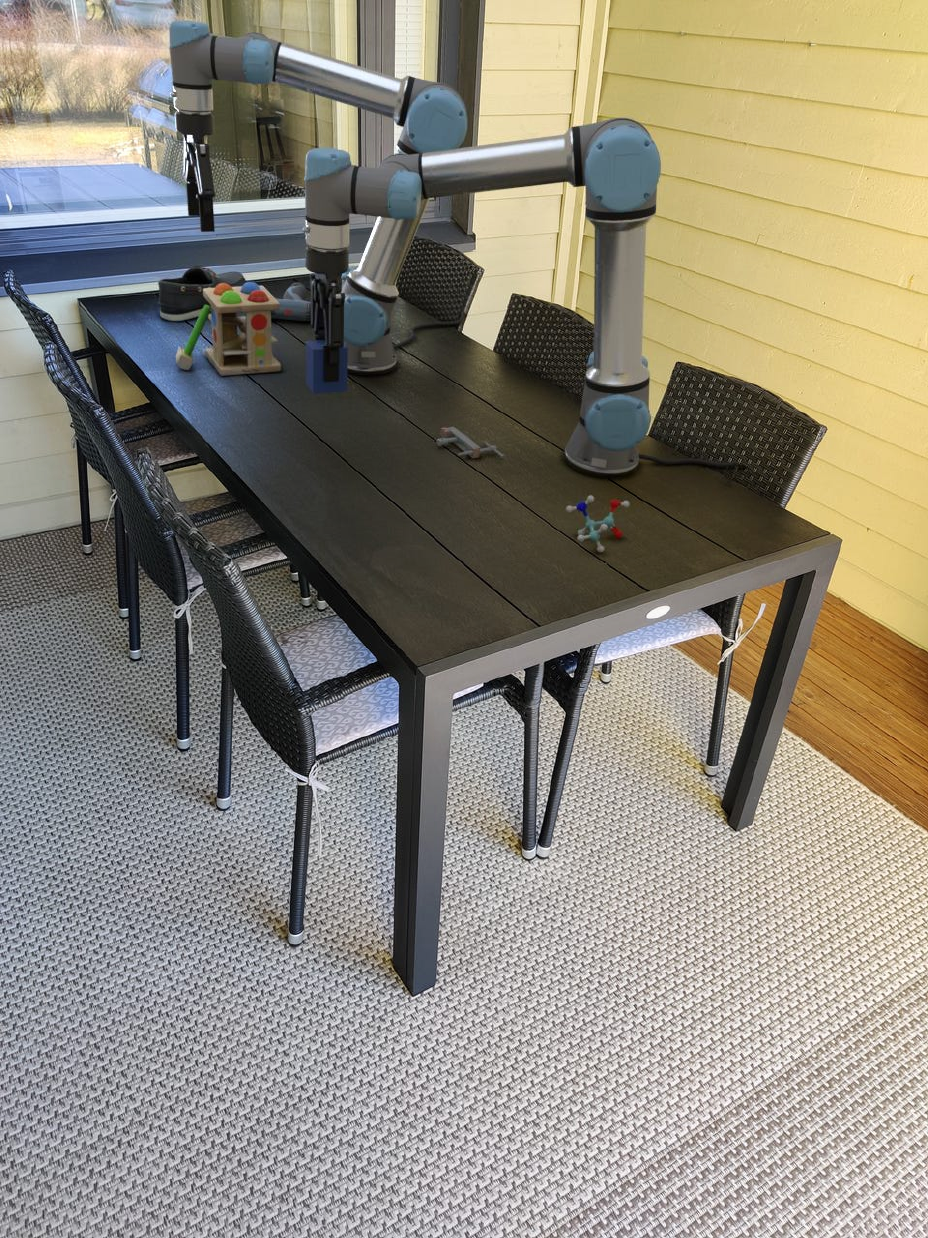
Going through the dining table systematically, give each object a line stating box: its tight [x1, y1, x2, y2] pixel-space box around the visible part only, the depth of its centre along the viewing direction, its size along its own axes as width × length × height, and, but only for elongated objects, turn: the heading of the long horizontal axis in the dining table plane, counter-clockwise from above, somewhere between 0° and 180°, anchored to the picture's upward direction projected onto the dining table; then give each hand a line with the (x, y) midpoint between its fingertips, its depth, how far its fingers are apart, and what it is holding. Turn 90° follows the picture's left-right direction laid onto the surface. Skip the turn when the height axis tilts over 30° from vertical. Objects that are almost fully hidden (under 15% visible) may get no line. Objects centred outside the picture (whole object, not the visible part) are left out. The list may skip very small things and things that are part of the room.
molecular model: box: [565, 495, 630, 554], centre depth 173 cm, size 12×10×10 cm
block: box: [305, 339, 348, 395], centre depth 183 cm, size 5×6×8 cm
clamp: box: [436, 426, 507, 460], centre depth 201 cm, size 15×2×10 cm
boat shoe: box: [157, 265, 247, 322], centre depth 263 cm, size 13×33×10 cm, turn 147°
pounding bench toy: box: [174, 281, 282, 377], centre depth 225 cm, size 23×14×18 cm, turn 116°
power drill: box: [271, 282, 311, 322], centre depth 265 cm, size 5×19×20 cm
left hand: (201, 223), depth 207 cm, fingers open, 13 cm apart
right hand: (326, 375), depth 184 cm, fingers closed on block, 5 cm apart
